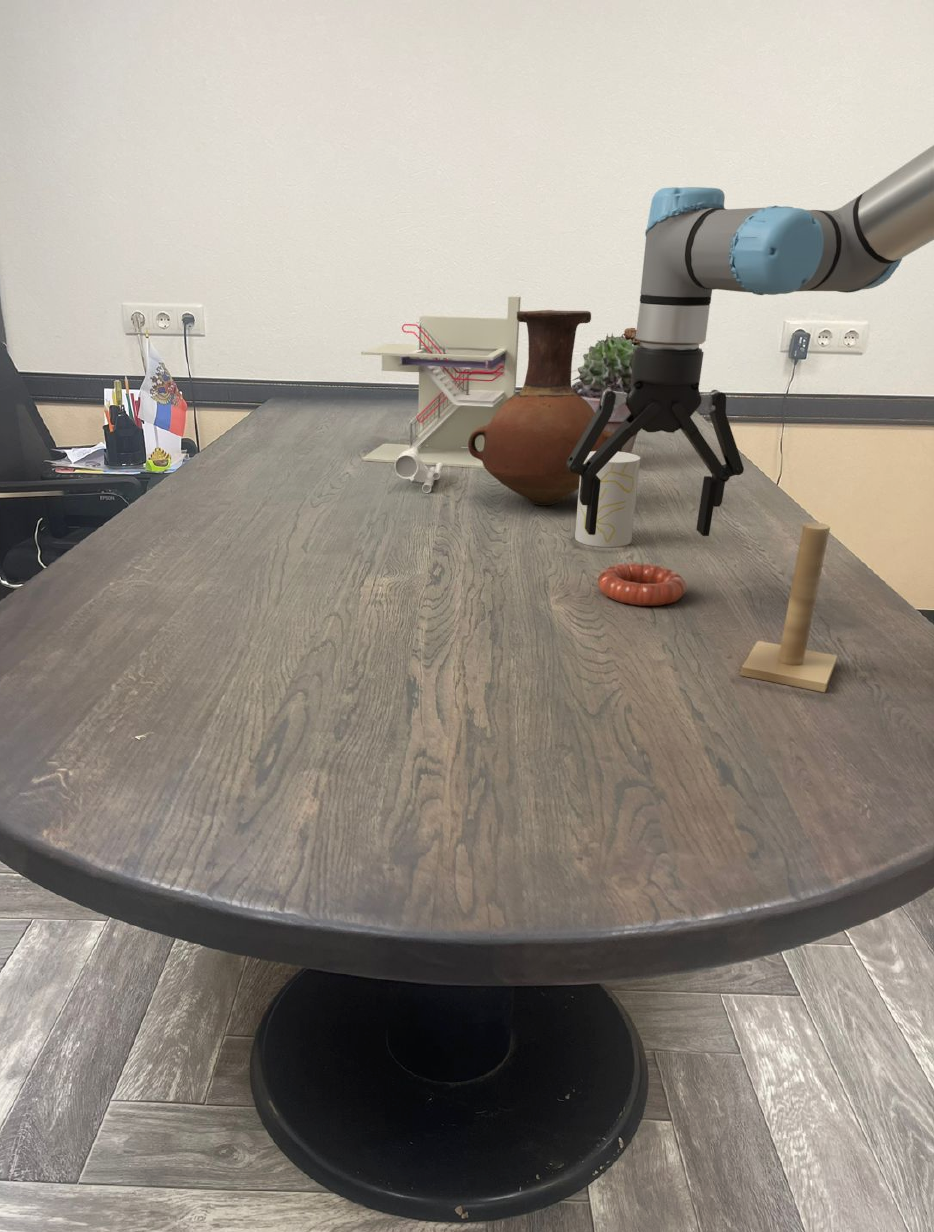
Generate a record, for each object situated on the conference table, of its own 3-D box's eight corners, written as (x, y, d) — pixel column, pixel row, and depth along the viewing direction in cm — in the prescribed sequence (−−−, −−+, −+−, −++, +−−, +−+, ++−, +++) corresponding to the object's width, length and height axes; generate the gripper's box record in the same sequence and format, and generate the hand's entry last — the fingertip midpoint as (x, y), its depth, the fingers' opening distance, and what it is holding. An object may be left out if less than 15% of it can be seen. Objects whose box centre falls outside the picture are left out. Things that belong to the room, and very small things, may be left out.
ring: (693, 589, 119) (696, 569, 118) (670, 614, 111) (673, 593, 109) (613, 575, 123) (615, 556, 122) (585, 599, 115) (587, 578, 114)
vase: (609, 492, 166) (627, 308, 153) (621, 521, 148) (643, 315, 135) (468, 487, 168) (474, 305, 155) (463, 516, 150) (469, 312, 137)
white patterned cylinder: (570, 543, 137) (577, 459, 131) (579, 529, 144) (586, 449, 138) (627, 549, 134) (636, 464, 129) (634, 534, 141) (643, 453, 136)
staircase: (359, 462, 186) (357, 297, 173) (384, 445, 202) (383, 293, 189) (497, 471, 180) (506, 301, 167) (512, 453, 196) (520, 296, 183)
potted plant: (542, 469, 182) (551, 331, 172) (568, 451, 199) (578, 324, 188) (636, 478, 176) (652, 335, 166) (655, 459, 192) (670, 328, 182)
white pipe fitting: (425, 484, 177) (445, 465, 175) (418, 503, 164) (440, 482, 162) (395, 453, 175) (416, 433, 173) (386, 469, 162) (408, 448, 160)
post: (835, 664, 98) (866, 521, 91) (825, 692, 91) (857, 541, 85) (756, 649, 101) (780, 510, 95) (740, 675, 95) (765, 529, 89)
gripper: (769, 343, 108) (739, 524, 118) (551, 340, 108) (538, 522, 117) (793, 350, 102) (760, 542, 111) (562, 347, 101) (547, 540, 110)
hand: (646, 532), depth 114 cm, fingers open, 13 cm apart
